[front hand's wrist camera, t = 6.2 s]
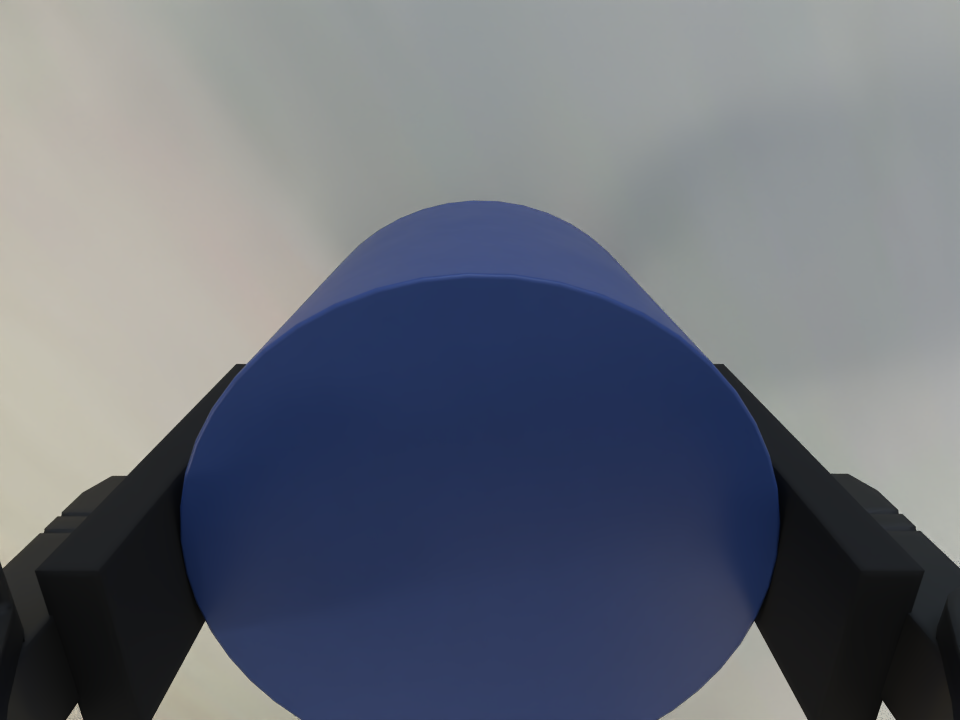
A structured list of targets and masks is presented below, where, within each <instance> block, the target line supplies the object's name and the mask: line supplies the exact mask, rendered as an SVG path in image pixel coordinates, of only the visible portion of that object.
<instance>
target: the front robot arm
mask: <svg viewBox="0 0 960 720" xmlns="http://www.w3.org/2000/svg"><path fill="white" fill-rule="evenodd" d="M245 365H246V364H236V365H235V366H234V367H233V368H232V369H231V370H230V371H229V372H228V373H227V374H226V375H225V376H224V377H223V378H222V379H221V380H220V381H219V382H218V383H217V384H216V385H215V386H214V387H213V388H212V390H211V391H210V392H209V393H208V394H207V395H206V396H205V397H204V398H203V399H202V400H201V401H200V402H199V403H198V404H197V405H196V406H195V407H194V408H193V409H192V410H191V411H190V412H189V413H188V414H187V415H186V416H185V417H184V418H183V419H182V420H181V421H180V422H179V423H178V424H177V425H176V426H175V427H174V428H173V429H172V430H171V432H170V433H169V434H168V435H167V436H166V437H165V438H164V439H163V440H162V441H161V442H160V443H159V444H158V445H157V446H156V447H155V448H154V449H153V450H152V451H151V452H150V453H149V454H148V455H147V456H146V457H145V458H144V459H143V460H142V461H141V462H140V463H139V464H138V465H137V466H136V467H135V468H134V469H133V470H132V471H131V472H130V474H129V475H128V476H111V477H109V478H108V479H106V480H104V481H102V482H101V483H99V484H97V485H95V486H94V487H92V488H90V489H88V490H87V491H85V492H83V493H82V494H81V495H80V496H79V497H78V498H76V499H75V500H74V501H73V502H72V503H71V504H70V505H69V506H68V507H67V508H66V509H65V510H64V511H63V512H62V516H58V517H57V518H55V519H54V520H53V521H52V522H51V523H50V524H49V525H48V526H47V527H46V528H45V529H44V530H45V531H44V533H40V534H39V535H38V536H37V537H36V538H34V539H33V540H32V541H31V542H30V543H29V544H28V545H27V546H26V547H25V548H24V549H23V550H22V551H21V552H20V553H19V554H18V555H17V556H16V557H14V558H13V559H12V560H11V561H10V562H9V563H8V564H7V565H6V566H5V567H4V568H3V569H2V566H1V563H0V720H66V719H67V718H68V716H69V715H70V713H71V712H72V710H73V709H74V707H75V706H76V704H77V703H78V705H79V708H80V711H81V714H82V717H83V720H152V718H153V716H154V715H155V713H156V711H157V709H158V707H159V705H160V703H161V702H162V700H163V698H164V696H165V694H166V692H167V691H168V689H169V687H170V685H171V683H172V681H173V679H174V678H175V676H176V674H177V672H178V670H179V668H180V667H181V665H182V663H183V661H184V659H185V657H186V655H187V654H188V652H189V650H190V648H191V646H192V644H193V643H194V641H195V639H196V637H197V635H198V633H199V632H200V630H201V628H202V626H203V624H204V622H205V618H204V616H203V615H202V613H201V611H200V609H199V607H198V605H197V603H196V600H195V597H194V594H193V591H192V588H191V585H190V582H189V579H188V576H187V573H186V568H185V563H184V557H183V551H182V546H181V530H180V504H181V498H182V491H183V484H184V477H185V472H186V469H187V466H188V463H189V459H190V456H191V453H192V450H193V447H194V444H195V441H196V438H197V437H198V435H199V433H200V431H201V429H202V427H203V425H204V423H205V421H206V419H207V417H208V415H209V413H210V411H211V409H212V407H213V406H214V405H215V403H216V402H217V400H218V399H219V398H220V396H221V395H222V394H223V392H224V391H225V390H226V388H227V387H228V385H229V384H230V383H231V381H232V380H233V379H234V377H235V376H236V375H237V374H238V373H239V372H240V371H241V370H242V369H243V368H244V366H245ZM713 365H714V366H715V367H716V368H717V369H718V370H719V372H720V373H721V374H722V375H723V376H724V377H725V378H726V380H727V381H728V382H729V383H730V384H731V385H732V387H733V388H734V389H735V390H736V391H737V393H738V394H739V396H740V398H741V399H742V401H743V402H744V404H745V406H746V407H747V409H748V410H749V412H750V414H751V415H752V417H753V418H754V420H755V422H756V424H757V426H758V428H759V431H760V433H761V436H762V438H763V440H764V443H765V445H766V448H767V450H768V452H769V455H770V458H771V463H772V467H773V471H774V475H775V479H776V484H777V488H778V500H779V515H780V530H779V541H778V552H777V559H776V562H775V566H774V570H773V574H772V578H771V582H770V586H769V589H768V591H767V594H766V596H765V598H764V601H763V603H762V606H761V608H760V610H759V613H758V615H757V617H756V619H755V620H754V621H755V623H756V625H757V627H758V629H759V630H760V632H761V634H762V636H763V638H764V640H765V642H766V643H767V645H768V647H769V649H770V651H771V653H772V654H773V656H774V658H775V660H776V662H777V664H778V666H779V667H780V669H781V671H782V673H783V675H784V677H785V678H786V680H787V682H788V684H789V686H790V688H791V690H792V691H793V693H794V695H795V697H796V699H797V701H798V702H799V704H800V706H801V708H802V710H803V712H804V714H805V715H806V717H807V719H808V720H876V719H877V716H878V712H879V709H880V706H881V703H882V700H883V702H884V703H885V705H886V706H887V707H888V709H889V710H890V712H891V713H892V715H893V716H894V718H895V719H896V720H960V568H959V567H958V566H957V565H956V564H955V563H954V562H953V561H952V560H950V559H949V558H948V557H947V556H946V555H945V554H944V553H943V552H942V551H941V550H940V549H939V548H938V547H937V546H936V545H935V544H934V543H932V542H931V541H930V540H929V539H928V538H927V537H926V536H925V535H924V534H923V533H922V532H921V531H916V526H914V525H913V524H912V523H911V522H910V521H909V520H908V519H907V518H906V517H905V516H904V515H903V514H899V513H898V509H897V508H895V507H894V506H893V505H892V504H891V503H890V502H889V501H888V500H887V499H886V498H885V497H884V496H883V495H882V494H881V493H880V492H879V491H877V490H876V489H874V488H872V487H870V486H869V485H867V484H865V483H863V482H861V481H860V480H858V479H856V478H854V477H853V476H851V475H849V474H830V473H829V472H828V471H827V470H826V469H825V468H824V467H823V466H822V465H821V464H820V463H819V462H818V461H817V460H816V459H815V458H814V457H813V456H812V455H811V454H810V452H809V451H808V450H807V449H806V448H805V447H804V446H803V445H802V444H801V443H800V442H799V441H798V440H797V439H796V438H795V437H794V436H793V435H792V434H791V433H790V432H789V431H788V430H787V429H786V428H785V427H784V426H783V425H782V424H781V423H780V422H779V421H778V420H777V419H776V418H775V417H774V416H773V415H772V414H771V413H770V411H769V410H768V409H767V408H766V407H765V406H764V405H763V404H762V403H761V402H760V401H759V400H758V399H757V398H756V397H755V396H754V395H753V394H752V393H751V392H750V391H749V390H748V389H747V388H746V387H745V386H744V385H743V384H742V383H741V382H740V381H739V380H738V379H737V378H736V377H735V376H734V375H733V374H732V373H731V372H730V371H729V369H728V368H727V367H726V366H725V365H724V364H713Z"/></svg>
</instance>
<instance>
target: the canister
mask: <svg viewBox="0 0 960 720" xmlns="http://www.w3.org/2000/svg"><path fill="white" fill-rule="evenodd" d="M180 530H181V546H182V551H183V557H184V563H185V568H186V573H187V576H188V579H189V582H190V585H191V588H192V591H193V594H194V597H195V600H196V603H197V605H198V607H199V609H200V611H201V613H202V615H203V616H204V618H205V620H206V622H207V624H208V626H209V628H210V630H211V632H212V633H213V635H214V636H215V638H216V639H217V640H218V642H219V643H220V645H221V646H222V648H223V649H224V650H225V652H226V653H227V655H228V656H229V657H230V659H231V660H232V661H233V662H234V663H235V664H236V665H237V666H238V667H239V668H240V670H241V671H242V672H243V673H244V674H245V675H246V676H247V677H248V678H249V680H250V681H252V682H253V683H254V684H255V685H256V686H257V687H258V688H260V689H261V690H262V691H263V692H264V693H265V694H267V695H268V696H269V697H270V698H271V699H272V700H273V701H275V702H276V703H278V704H279V705H280V706H282V707H283V708H285V709H286V710H288V711H289V712H291V713H292V714H294V715H295V716H297V717H298V718H299V719H301V720H658V719H660V718H661V717H663V716H665V715H666V714H668V713H669V712H671V711H673V710H674V709H675V708H677V707H678V706H679V705H681V704H682V703H683V702H684V701H686V700H687V699H688V698H690V697H691V696H692V695H693V694H695V693H696V692H697V691H699V690H700V689H701V688H702V687H703V686H704V685H705V684H706V683H707V682H708V681H709V680H710V679H711V678H712V677H713V676H714V675H715V674H716V673H717V672H718V671H719V670H720V669H721V668H722V667H723V665H724V664H725V663H726V661H727V660H728V659H729V658H730V656H731V655H732V654H733V653H734V651H735V650H736V649H737V648H738V646H739V645H740V644H741V642H742V641H743V639H744V637H745V636H746V634H747V632H748V631H749V629H750V627H751V626H752V624H753V622H754V620H755V619H756V617H757V615H758V613H759V610H760V608H761V606H762V603H763V601H764V598H765V596H766V594H767V591H768V589H769V586H770V582H771V578H772V574H773V570H774V566H775V562H776V559H777V552H778V541H779V530H780V515H779V500H778V488H777V484H776V479H775V475H774V471H773V467H772V463H771V458H770V455H769V452H768V450H767V448H766V445H765V443H764V440H763V438H762V436H761V433H760V431H759V428H758V426H757V424H756V422H755V420H754V418H753V417H752V415H751V414H750V412H749V410H748V409H747V407H746V406H745V404H744V402H743V401H742V399H741V398H740V396H739V394H738V393H737V391H736V390H735V389H734V388H733V387H732V385H731V384H730V383H729V382H728V381H727V380H726V378H725V377H724V376H723V375H722V374H721V373H720V372H719V370H718V369H717V368H716V367H715V366H714V365H713V363H712V362H711V361H710V360H709V359H708V358H707V357H706V356H705V355H704V354H703V353H702V352H701V350H700V349H699V348H698V347H697V346H696V345H695V344H694V343H693V342H692V341H691V340H690V339H689V338H688V337H687V336H686V335H685V333H684V332H683V331H682V330H681V329H680V328H679V327H678V326H677V325H676V324H675V323H674V322H673V321H672V320H671V319H670V317H669V316H668V315H667V314H666V313H665V312H664V311H663V310H662V309H661V308H660V307H659V306H658V305H657V304H656V303H655V301H654V300H653V299H652V298H651V297H650V296H649V295H648V294H647V293H646V292H645V291H644V290H643V289H642V288H641V287H640V286H639V284H638V283H637V282H636V281H635V280H634V279H633V278H632V277H631V276H630V275H629V274H628V273H627V272H626V271H625V270H624V268H623V267H622V266H621V265H620V264H619V263H618V262H617V261H616V260H615V259H614V258H613V257H612V256H611V255H610V254H609V252H607V251H606V250H605V249H604V248H603V247H602V246H600V245H599V244H598V243H597V242H596V241H595V240H594V239H592V238H591V237H590V236H588V235H587V234H585V233H584V232H582V231H581V230H579V229H578V228H576V227H575V226H573V225H571V224H570V223H568V222H566V221H563V220H561V219H559V218H557V217H555V216H553V215H551V214H548V213H546V212H542V211H539V210H536V209H533V208H530V207H526V206H523V205H517V204H511V203H505V202H499V201H465V202H455V203H447V204H443V205H439V206H434V207H430V208H426V209H423V210H420V211H417V212H415V213H412V214H410V215H407V216H405V217H402V218H400V219H398V220H396V221H394V222H393V223H391V224H389V225H387V226H385V227H384V228H382V229H380V230H378V231H377V232H376V233H374V234H373V235H372V236H370V237H369V238H368V239H366V240H365V241H364V242H363V243H361V244H360V245H359V246H358V247H357V248H356V249H355V250H354V251H353V252H352V253H351V254H350V255H349V256H348V257H347V258H346V259H345V260H344V261H343V262H342V263H341V264H340V265H339V266H338V267H337V268H336V269H335V270H334V272H333V273H332V274H331V275H330V276H329V277H328V278H327V279H326V280H325V281H324V282H323V283H322V284H321V285H320V286H319V288H318V289H317V290H316V291H315V292H314V293H313V294H312V295H311V296H310V297H309V298H308V299H307V300H306V301H305V302H304V304H303V305H302V306H301V307H300V308H299V309H298V310H297V311H296V312H295V313H294V314H293V315H292V316H291V317H290V318H289V320H288V321H287V322H286V323H285V324H284V325H283V326H282V327H281V328H280V329H279V330H278V331H277V332H276V333H275V334H274V336H273V337H272V338H271V339H270V340H269V341H268V342H267V343H266V344H265V345H264V346H263V347H262V348H261V349H260V350H259V352H258V353H257V354H256V355H255V356H254V357H253V358H252V359H251V360H250V361H249V362H248V363H247V364H246V365H245V366H244V368H243V369H242V370H241V371H240V372H239V373H238V374H237V375H236V376H235V377H234V379H233V380H232V381H231V383H230V384H229V385H228V387H227V388H226V390H225V391H224V392H223V394H222V395H221V396H220V398H219V399H218V400H217V402H216V403H215V405H214V406H213V407H212V409H211V411H210V413H209V415H208V417H207V419H206V421H205V423H204V425H203V427H202V429H201V431H200V433H199V435H198V437H197V438H196V441H195V444H194V447H193V450H192V453H191V456H190V459H189V463H188V466H187V469H186V472H185V477H184V484H183V491H182V498H181V504H180Z"/></svg>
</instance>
